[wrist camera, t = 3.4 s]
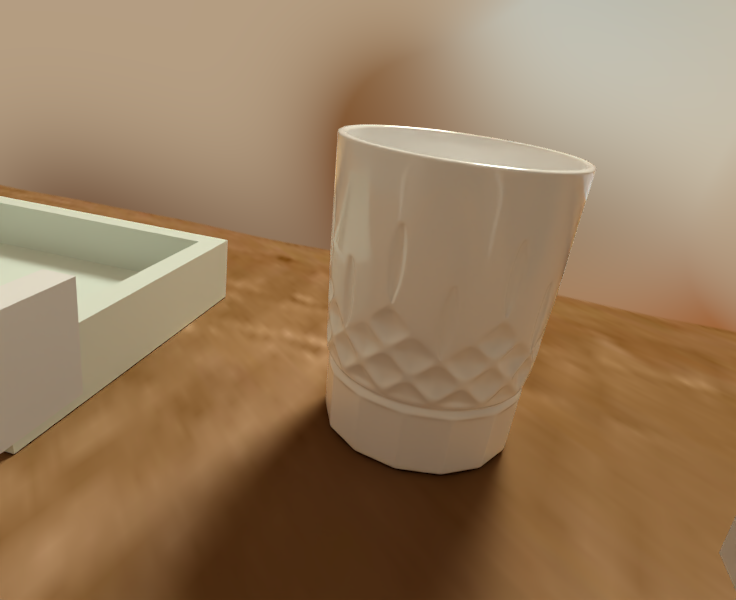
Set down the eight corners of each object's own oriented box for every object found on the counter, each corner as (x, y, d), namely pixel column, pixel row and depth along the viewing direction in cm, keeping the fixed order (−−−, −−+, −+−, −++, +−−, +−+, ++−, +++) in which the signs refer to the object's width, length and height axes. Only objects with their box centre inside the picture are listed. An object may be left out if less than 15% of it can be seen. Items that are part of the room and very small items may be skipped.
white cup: (264, 426, 20) (285, 127, 17) (373, 348, 27) (405, 121, 23) (481, 526, 17) (567, 183, 14) (544, 410, 24) (613, 158, 20)
